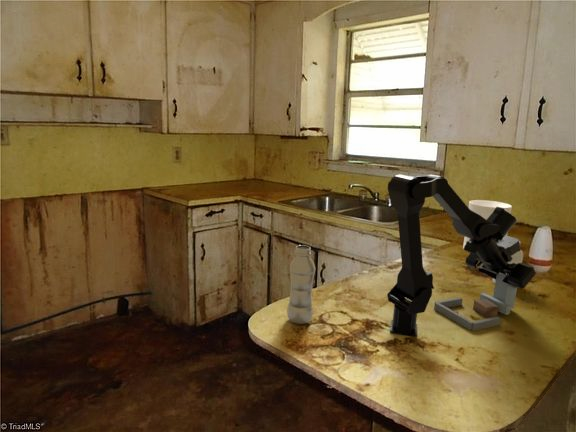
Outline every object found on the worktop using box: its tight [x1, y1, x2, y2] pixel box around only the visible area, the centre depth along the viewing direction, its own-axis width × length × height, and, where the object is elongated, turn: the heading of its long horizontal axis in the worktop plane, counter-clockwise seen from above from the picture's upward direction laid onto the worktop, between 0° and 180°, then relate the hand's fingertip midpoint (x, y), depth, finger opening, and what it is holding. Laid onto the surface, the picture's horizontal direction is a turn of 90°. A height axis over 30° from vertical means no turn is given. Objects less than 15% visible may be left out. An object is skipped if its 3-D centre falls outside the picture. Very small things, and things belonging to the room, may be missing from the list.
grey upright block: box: [479, 273, 518, 316], centre depth 120 cm, size 6×9×11 cm
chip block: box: [472, 299, 499, 318], centre depth 119 cm, size 4×5×3 cm
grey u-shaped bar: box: [433, 297, 501, 332], centre depth 116 cm, size 10×14×2 cm
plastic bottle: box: [286, 244, 316, 325], centre depth 108 cm, size 6×7×20 cm
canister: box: [462, 199, 513, 250], centre depth 176 cm, size 16×16×20 cm
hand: (509, 283), depth 121 cm, fingers closed on grey upright block, 4 cm apart
